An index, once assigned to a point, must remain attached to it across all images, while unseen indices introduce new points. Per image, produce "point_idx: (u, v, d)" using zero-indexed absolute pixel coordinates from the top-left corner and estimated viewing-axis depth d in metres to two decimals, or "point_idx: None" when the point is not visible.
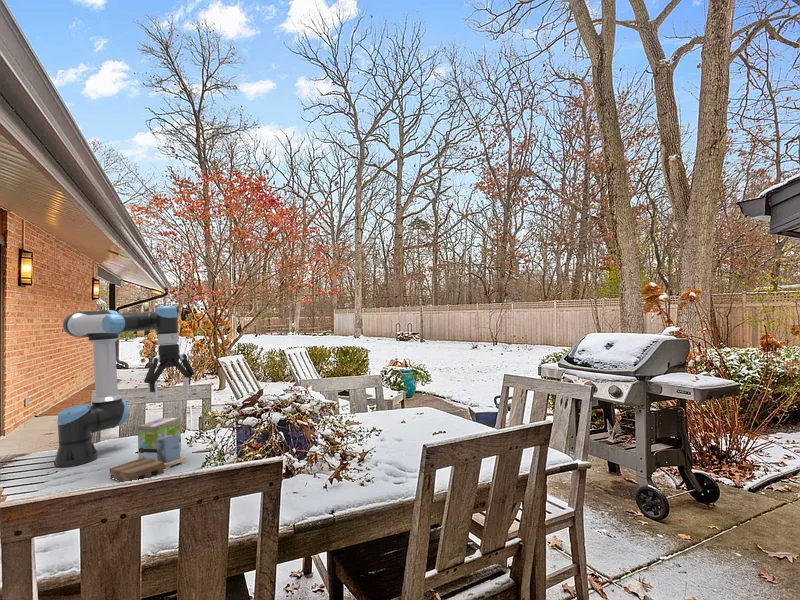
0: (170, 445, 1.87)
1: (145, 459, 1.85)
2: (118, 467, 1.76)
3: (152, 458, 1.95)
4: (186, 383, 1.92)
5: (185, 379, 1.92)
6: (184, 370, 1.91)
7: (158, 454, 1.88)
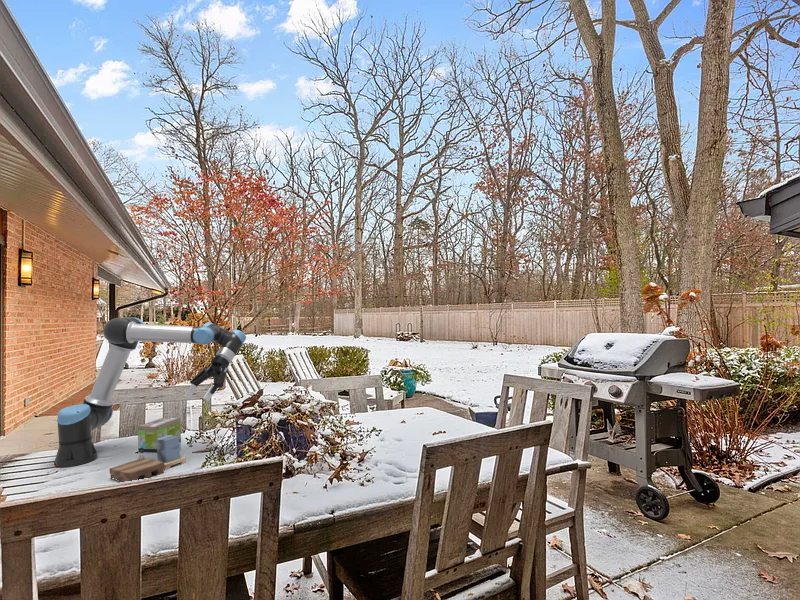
0: (170, 445, 1.87)
1: (145, 459, 1.85)
2: (118, 467, 1.76)
3: (152, 458, 1.95)
4: (193, 391, 2.07)
5: (194, 387, 2.08)
6: None
7: (158, 454, 1.88)
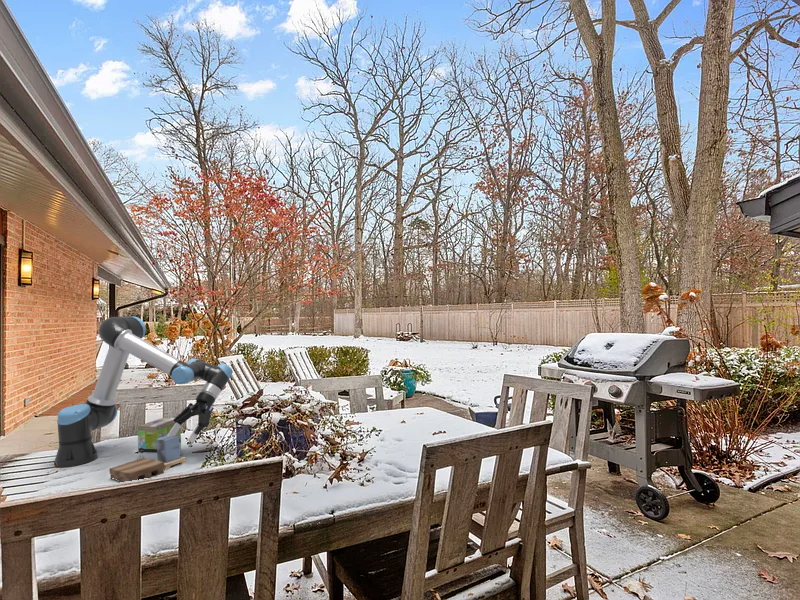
0: (170, 445, 1.87)
1: (145, 459, 1.85)
2: (118, 467, 1.76)
3: (152, 458, 1.95)
4: (177, 430, 1.99)
5: (178, 426, 1.99)
6: None
7: (158, 454, 1.88)
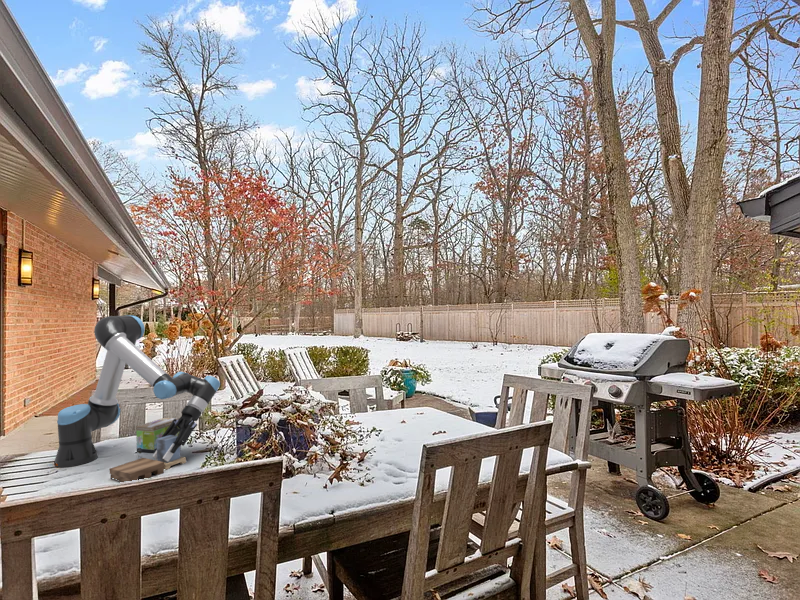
0: (170, 445, 1.87)
1: (145, 459, 1.85)
2: (118, 467, 1.76)
3: None
4: None
5: None
6: None
7: (158, 454, 1.88)
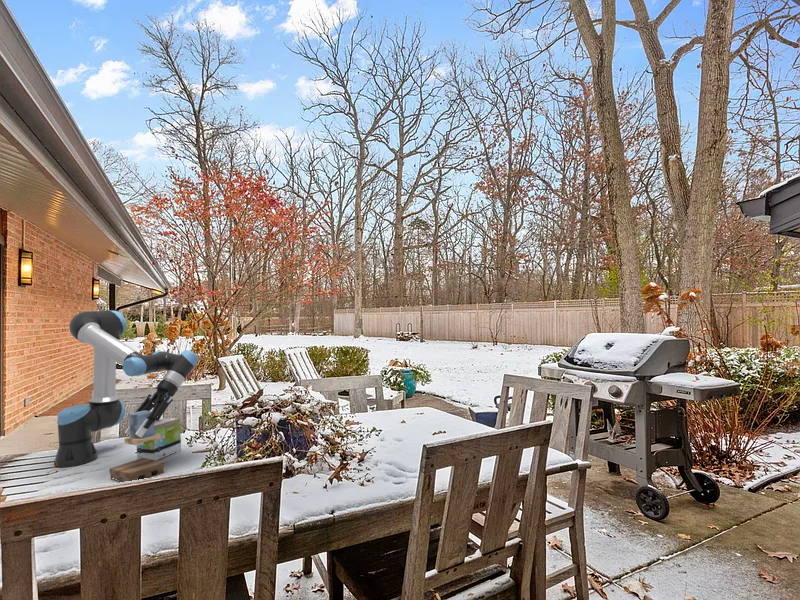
0: (144, 420, 1.78)
1: (145, 459, 1.85)
2: (118, 467, 1.76)
3: None
4: None
5: None
6: None
7: (131, 430, 1.78)
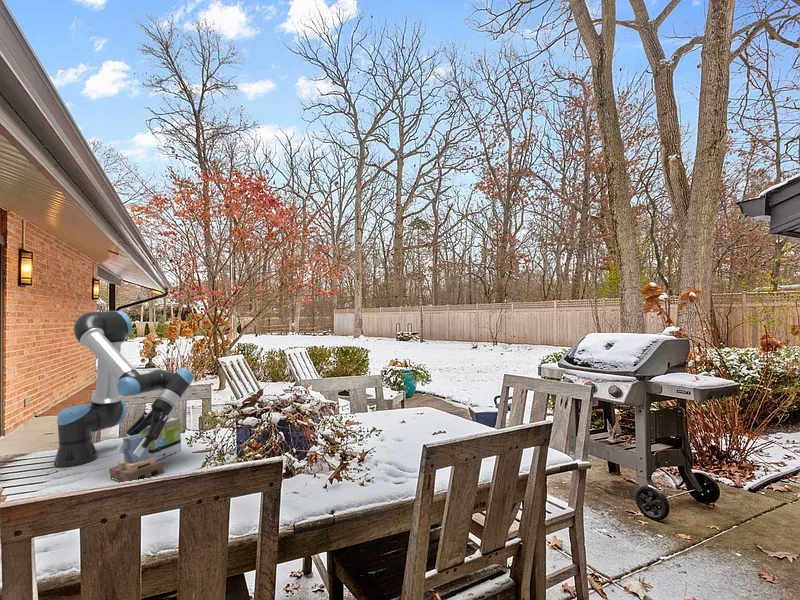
0: (138, 444, 1.76)
1: None
2: (118, 467, 1.76)
3: None
4: None
5: None
6: None
7: (125, 454, 1.77)
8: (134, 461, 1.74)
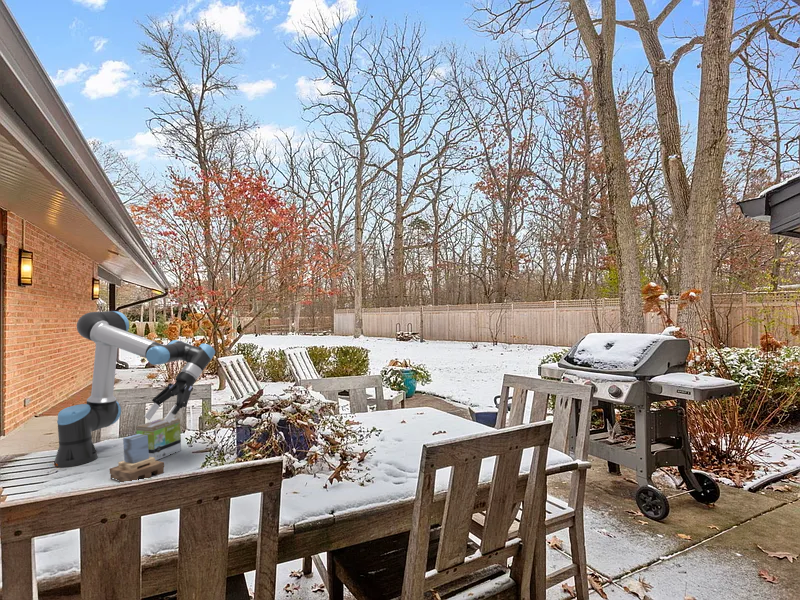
0: (138, 444, 1.76)
1: None
2: (118, 467, 1.76)
3: None
4: (155, 410, 1.92)
5: (157, 406, 1.93)
6: None
7: (125, 454, 1.77)
8: (134, 461, 1.74)
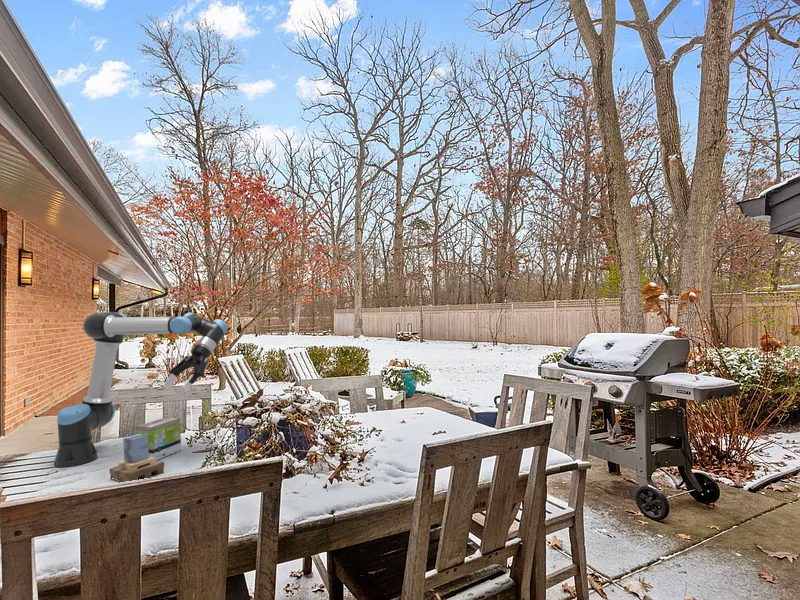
0: (138, 444, 1.76)
1: None
2: (118, 467, 1.76)
3: None
4: (172, 380, 2.02)
5: (174, 377, 2.03)
6: None
7: (125, 454, 1.77)
8: (134, 461, 1.74)
